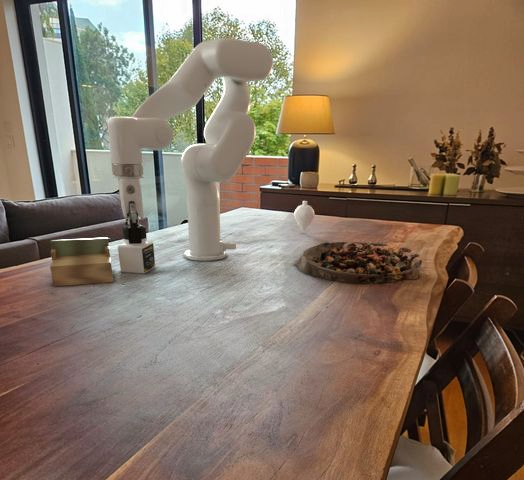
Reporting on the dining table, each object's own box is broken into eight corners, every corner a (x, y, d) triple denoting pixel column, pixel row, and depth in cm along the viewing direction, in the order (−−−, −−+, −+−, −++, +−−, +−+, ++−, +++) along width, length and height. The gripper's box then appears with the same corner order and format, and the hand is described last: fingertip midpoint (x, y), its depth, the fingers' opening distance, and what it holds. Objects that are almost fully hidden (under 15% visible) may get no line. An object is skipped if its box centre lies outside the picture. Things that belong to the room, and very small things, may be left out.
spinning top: (314, 235, 173) (316, 202, 167) (293, 235, 173) (295, 202, 167) (312, 231, 179) (314, 199, 174) (293, 231, 180) (294, 199, 174)
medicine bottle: (144, 274, 122) (140, 228, 117) (120, 272, 124) (114, 227, 118) (155, 267, 129) (151, 223, 124) (132, 265, 130) (127, 222, 125)
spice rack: (111, 270, 125) (107, 237, 121) (113, 281, 116) (108, 246, 112) (56, 274, 121) (50, 240, 117) (53, 286, 111) (46, 249, 108)
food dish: (439, 272, 131) (444, 245, 128) (380, 301, 110) (385, 269, 106) (338, 248, 152) (341, 224, 149) (272, 268, 131) (273, 241, 127)
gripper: (146, 174, 109) (151, 245, 116) (140, 169, 124) (145, 233, 131) (113, 173, 107) (121, 247, 114) (111, 169, 122) (117, 234, 129)
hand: (134, 239), depth 122 cm, fingers open, 9 cm apart
